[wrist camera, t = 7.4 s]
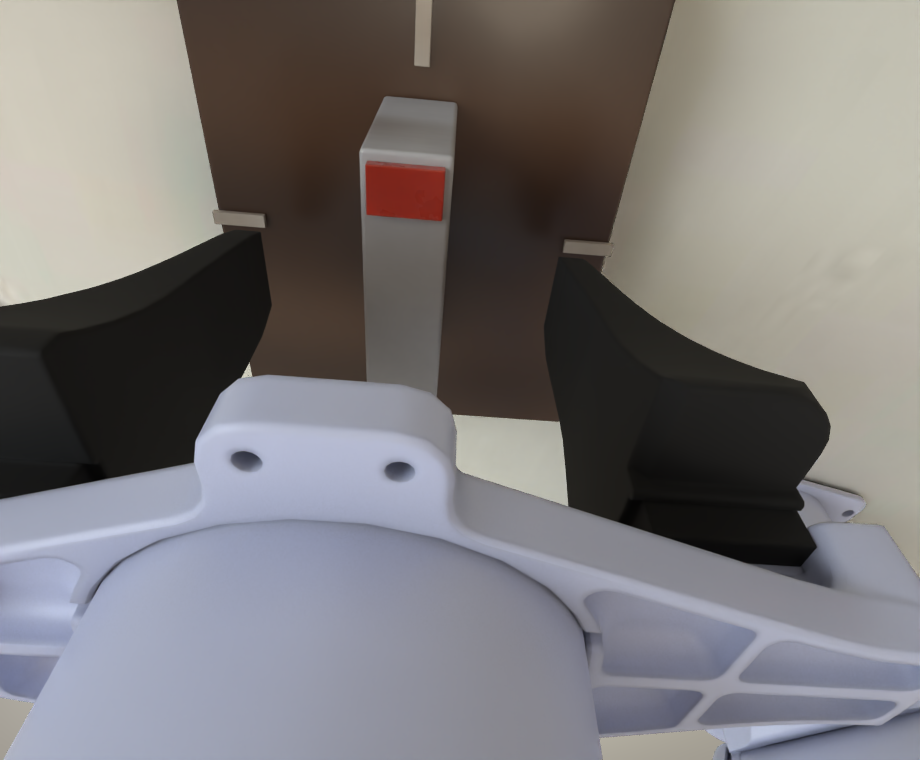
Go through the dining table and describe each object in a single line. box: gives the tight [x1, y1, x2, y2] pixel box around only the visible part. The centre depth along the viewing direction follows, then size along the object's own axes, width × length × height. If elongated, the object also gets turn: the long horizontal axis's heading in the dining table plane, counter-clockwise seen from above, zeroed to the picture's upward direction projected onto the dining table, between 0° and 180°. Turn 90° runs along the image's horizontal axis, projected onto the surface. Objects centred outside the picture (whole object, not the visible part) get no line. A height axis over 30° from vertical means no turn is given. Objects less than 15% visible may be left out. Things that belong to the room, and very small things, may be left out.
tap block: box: [177, 0, 675, 422], centre depth 17 cm, size 14×11×3 cm
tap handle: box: [359, 96, 458, 397], centre depth 14 cm, size 7×2×4 cm, turn 175°
